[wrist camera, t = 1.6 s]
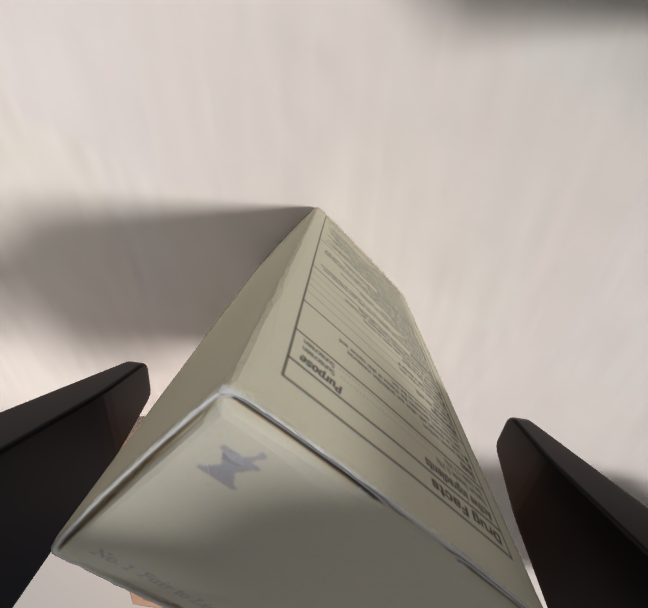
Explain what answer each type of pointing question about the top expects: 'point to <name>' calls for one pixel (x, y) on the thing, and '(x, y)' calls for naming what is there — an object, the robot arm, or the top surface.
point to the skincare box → (303, 460)
